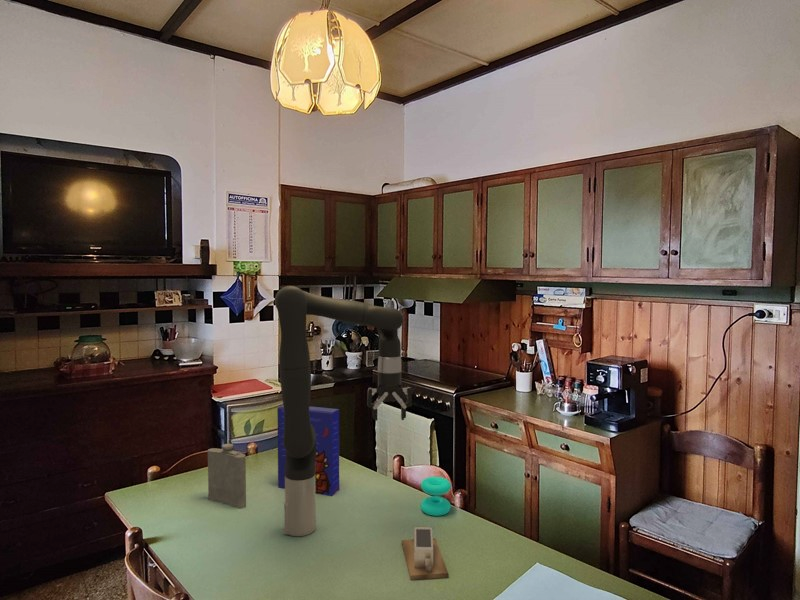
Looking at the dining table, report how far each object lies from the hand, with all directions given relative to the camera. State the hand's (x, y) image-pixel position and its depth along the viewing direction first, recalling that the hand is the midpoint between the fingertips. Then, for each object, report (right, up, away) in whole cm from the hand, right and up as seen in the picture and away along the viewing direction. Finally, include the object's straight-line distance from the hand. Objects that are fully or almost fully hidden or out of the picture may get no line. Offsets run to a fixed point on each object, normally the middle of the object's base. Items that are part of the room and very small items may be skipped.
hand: (389, 419), depth 169 cm
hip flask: (-56, -31, +12) cm, 65 cm away
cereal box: (-30, -31, +23) cm, 49 cm away
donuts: (+15, -32, +7) cm, 36 cm away
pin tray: (+10, -34, -23) cm, 42 cm away
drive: (+10, -33, -23) cm, 41 cm away
